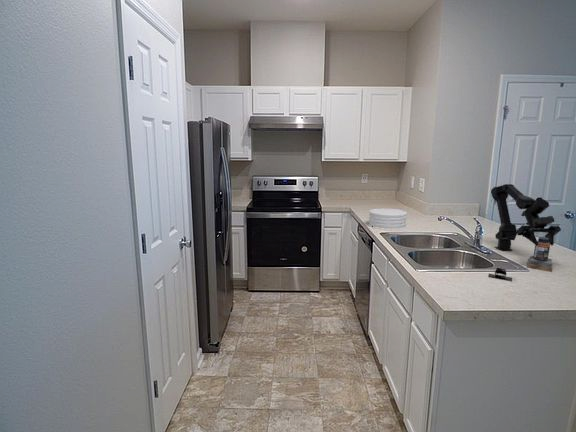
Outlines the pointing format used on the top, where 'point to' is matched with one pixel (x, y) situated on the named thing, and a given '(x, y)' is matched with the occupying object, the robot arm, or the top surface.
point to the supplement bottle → (542, 249)
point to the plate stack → (387, 218)
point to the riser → (540, 264)
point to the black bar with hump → (500, 271)
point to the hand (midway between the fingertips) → (544, 245)
